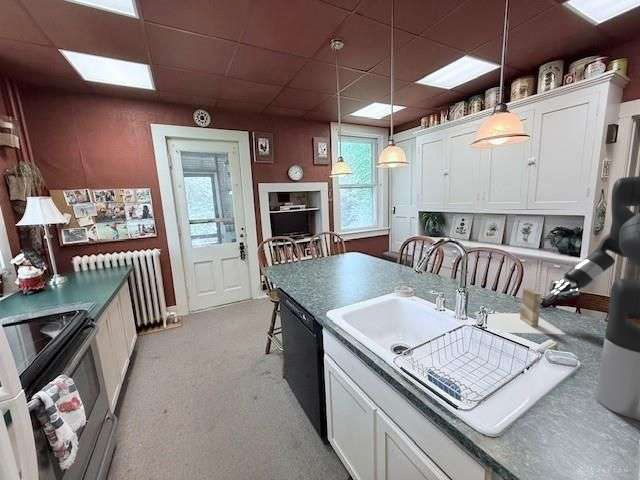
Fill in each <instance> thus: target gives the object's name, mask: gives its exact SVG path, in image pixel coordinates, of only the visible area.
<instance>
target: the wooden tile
mask: <svg viewBox="0 0 640 480" xmlns="http://www.w3.org/2000/svg"><path fill="white" fill-rule="evenodd" d="M521 297H522V298H521V305H520V313H519V314H520V319H521V320H522V321H524V322H525V323H527V324H528V325H529V326H531V327H538V320H539V317H540V311H541V304H542V303H541V302H542V293H540V292H538V291H536V290H534V289H532V288H530V287H523V289H522V296H521Z"/></svg>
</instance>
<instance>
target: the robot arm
mask: <svg viewBox="0 0 640 480" xmlns="http://www.w3.org/2000/svg"><path fill="white" fill-rule="evenodd" d="M610 204H611V205H610V206H611V208H610V209H611V225H610V230H609V233H608V234H606V235H605V236H604V237H603V238H602V239H601V241H600V242H599V244H598V246H597V247H596V249H595V250H594V251H593V252H592V253H590V255H588V256H587V257H586V258H584V259H583V260H581V261H579V262H578V263H577V264H576V265H574V266H573V267H572V268H570V269H569V270H568V271H566V272H565V273H564V275H563V278H561V279H559V280H557V281H556V280H554V279H553V280H551V281H550V285H549V288H548V291H549V292H550V293H549V294H548V295H547V296H546V297H545V298H544V299H543V301H545V302H546V303H547V304H549V305H551V304H553V303H555V302H556V301H558V299H559V300H560V299H562V300H567V299H572V298H575V297H579V296H581V295H582V294H581V293H580V292H579V291H580V290H581V289H582V288H586V287H587V286H588V285H590V284H591V283H592V282H594V281H595V280H597V279H598V278H599V277H600V276H601V275H602V274H603V273H604V272H605V271H606V270H608V269H609V268H611V267H612V266H613V265H614V264H615V262H616V260H615V259H614V257H613V256H612V255H610V254H609V253H607V251H610V252H612V253H613V254H615V255H618V256H619V257H623V258H627V259H628V260H629V261H630V262H631V263H633V264H634V265H635V266H637V268H639V269H640V212H638V213H637V214H635V213H634V212H633V211H632V210H631V209H629V208H628V207H640V175H639V176H626V177H621V178H618V179H616V180H615V182H614V183H613V186H612V190H611V203H610ZM611 285H612V286H611V289H610V294H609V295H610V296H609V306H608V309H609V310H608V316H607V317H608V318H607V323H606V330H605V333H604V340H603V346H602V352H601V356H600V357H601V359H600V365H599V371H598V377H597V384H596V387H595V396H594V397H595V398H596V400H597V401H598V403H600V405H602V406H603V407H606V409H608V410H610V411H612V412H614V413H615V414H618V415H620V416H624V417H626V418H630V419H634V420H636V421H639V422H640V327H639V326H638V325H636V324H634V323H632V322H631V321H630V320H628V319H629V318H631V319H636V320H640V280H635V279H627V278H617V279H616V280H615V281H614V282H613V283H612V284H611Z"/></svg>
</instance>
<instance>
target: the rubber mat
mask: <svg viewBox="0 0 640 480" xmlns="http://www.w3.org/2000/svg"><path fill="white" fill-rule="evenodd" d="M477 313H478V312H473V314H474V315H475V316H477ZM496 313H497V314H488V317H487V324H486V326H487V327H488V328H490V327H491V328H494V329H497V330H500V331H503V332H506V334H507V333H511V334H540V335H541V334H542V335H543V334H545V335H567V333H565V332H563V330H561V329H559V328H557V326H554V325H552V324H551V323H549V322H548V321H547V320H544V319H543V318H541V317H540V316H539V320H538V327H531V326H529V325H528V324H527V323H525V322H524V321H522V320H521V319H520V314H521V313H513V312H512V313H511V312H504V313H503V312H496ZM491 328H490V329H491Z"/></svg>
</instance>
